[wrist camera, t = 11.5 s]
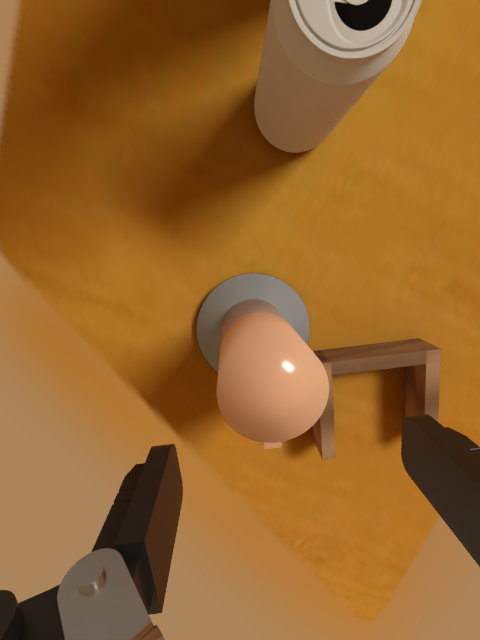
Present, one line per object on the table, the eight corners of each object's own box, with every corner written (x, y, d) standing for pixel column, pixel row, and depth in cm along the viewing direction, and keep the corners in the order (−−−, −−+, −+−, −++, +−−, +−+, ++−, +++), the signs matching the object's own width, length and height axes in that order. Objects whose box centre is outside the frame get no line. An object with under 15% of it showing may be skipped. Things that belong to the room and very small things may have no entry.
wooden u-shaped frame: (307, 352, 28) (316, 363, 25) (418, 338, 28) (440, 348, 25) (313, 439, 30) (322, 459, 27) (416, 426, 30) (437, 445, 27)
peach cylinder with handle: (217, 303, 26) (209, 346, 14) (282, 295, 26) (326, 331, 14) (230, 393, 28) (231, 496, 16) (290, 385, 28) (334, 482, 16)
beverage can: (279, 172, 24) (325, 101, 13) (236, 94, 23) (245, -65, 11) (349, 126, 24) (464, 8, 12) (309, 43, 23) (396, -179, 11)
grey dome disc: (189, 280, 26) (188, 281, 26) (304, 266, 26) (305, 267, 26) (205, 386, 28) (205, 389, 28) (311, 373, 28) (312, 376, 28)
